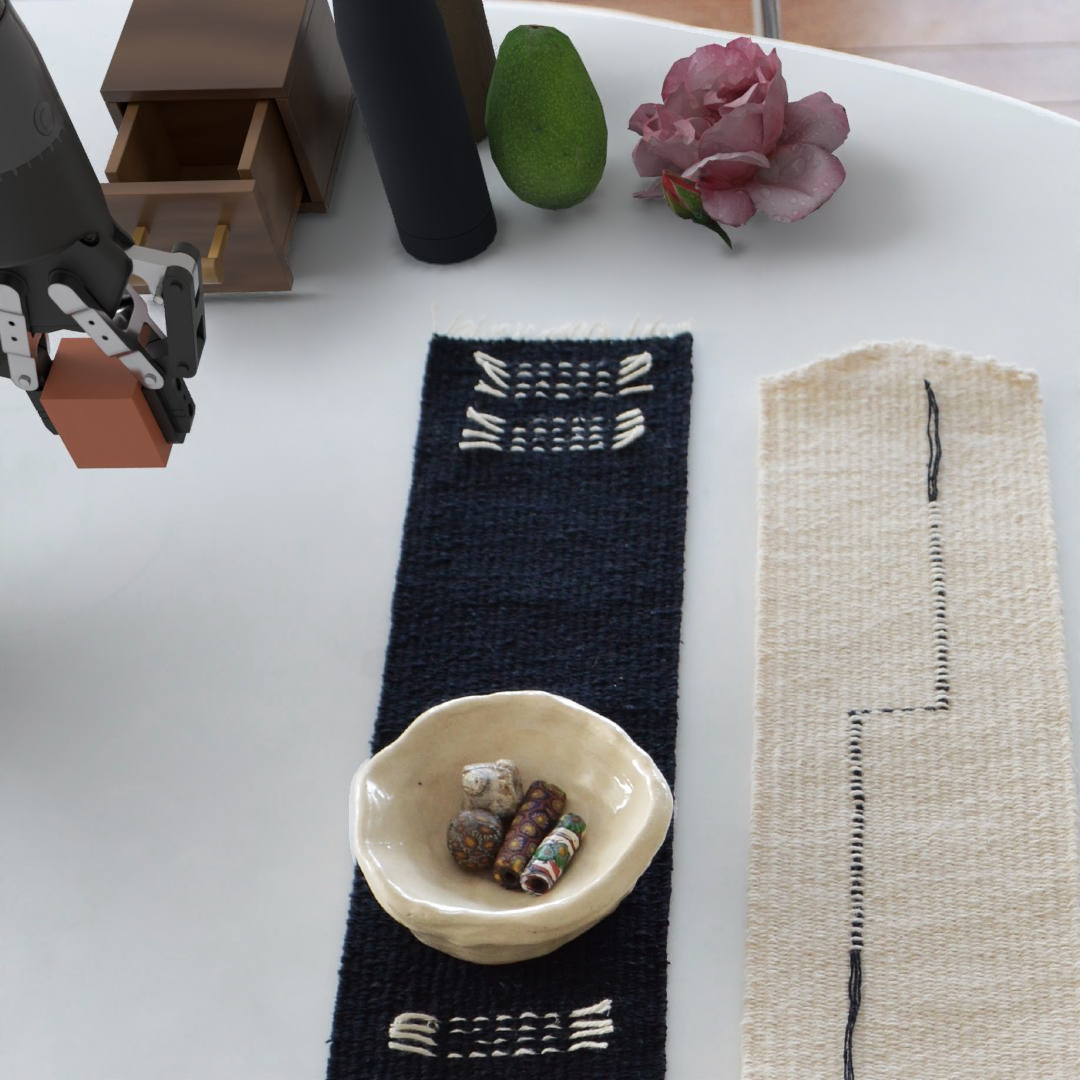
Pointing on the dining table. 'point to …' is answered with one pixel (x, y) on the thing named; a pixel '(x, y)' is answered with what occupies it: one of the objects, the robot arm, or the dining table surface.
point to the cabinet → (242, 70)
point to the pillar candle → (471, 55)
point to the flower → (738, 140)
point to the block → (101, 410)
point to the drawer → (209, 188)
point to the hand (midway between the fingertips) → (128, 431)
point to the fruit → (545, 119)
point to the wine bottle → (417, 125)
